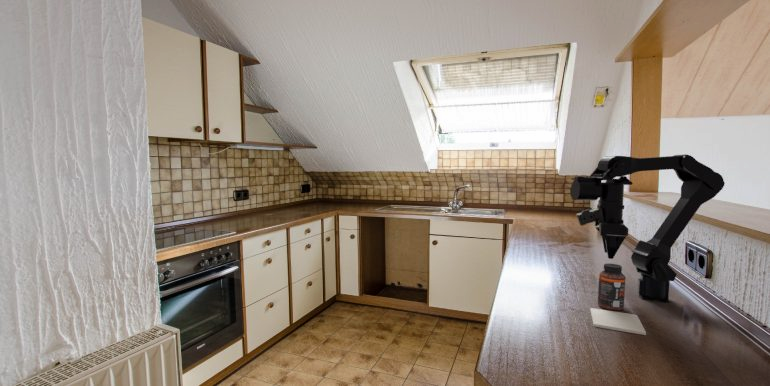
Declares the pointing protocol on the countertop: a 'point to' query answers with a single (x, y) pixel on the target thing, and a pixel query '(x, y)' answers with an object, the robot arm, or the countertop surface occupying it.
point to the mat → (617, 321)
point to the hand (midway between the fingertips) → (608, 255)
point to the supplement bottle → (611, 287)
